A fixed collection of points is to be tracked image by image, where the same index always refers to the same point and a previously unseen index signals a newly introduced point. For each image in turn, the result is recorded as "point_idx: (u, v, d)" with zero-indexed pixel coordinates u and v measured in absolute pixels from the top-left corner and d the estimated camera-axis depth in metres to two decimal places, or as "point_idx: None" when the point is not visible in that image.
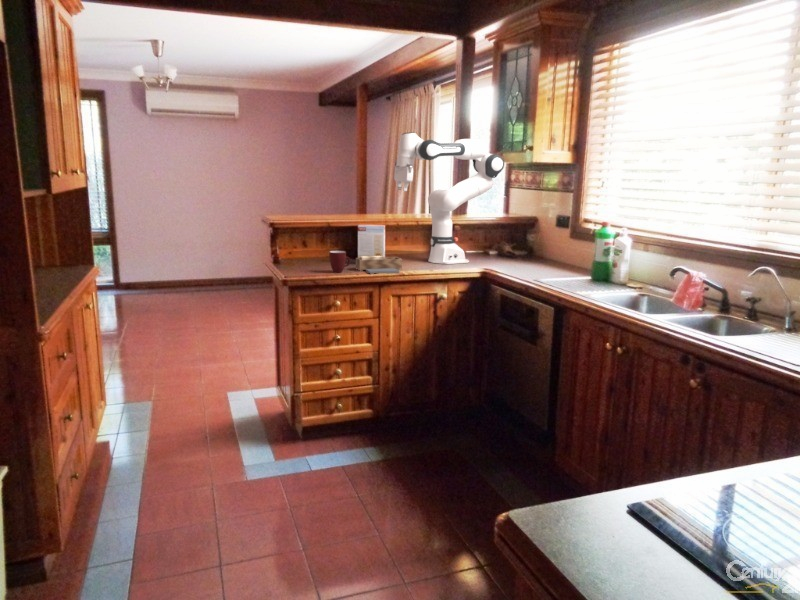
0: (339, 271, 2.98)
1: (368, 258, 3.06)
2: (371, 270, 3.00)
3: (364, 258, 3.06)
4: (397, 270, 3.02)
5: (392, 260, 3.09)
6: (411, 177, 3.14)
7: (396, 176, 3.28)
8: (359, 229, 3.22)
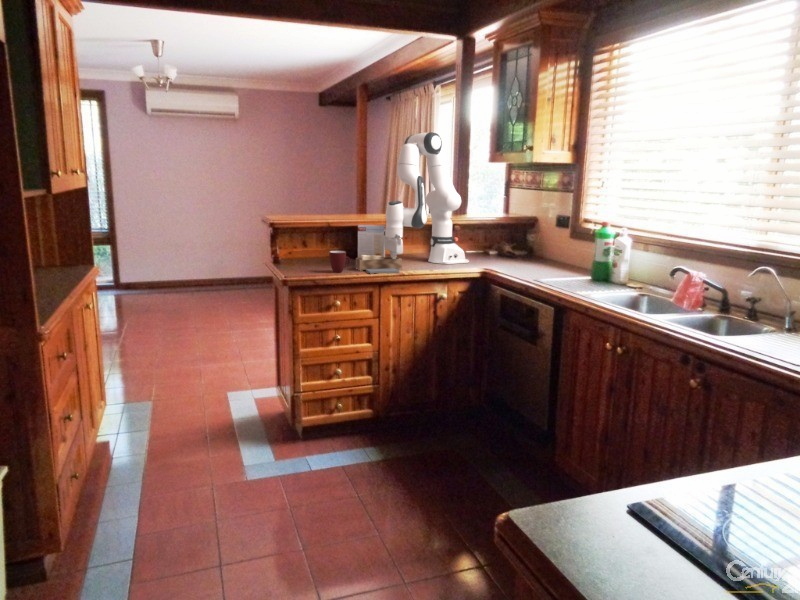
0: (339, 271, 2.98)
1: (368, 257, 3.06)
2: (371, 270, 3.00)
3: (364, 257, 3.06)
4: (397, 270, 3.02)
5: (392, 260, 3.09)
6: (401, 249, 3.03)
7: (386, 245, 3.17)
8: (359, 229, 3.22)
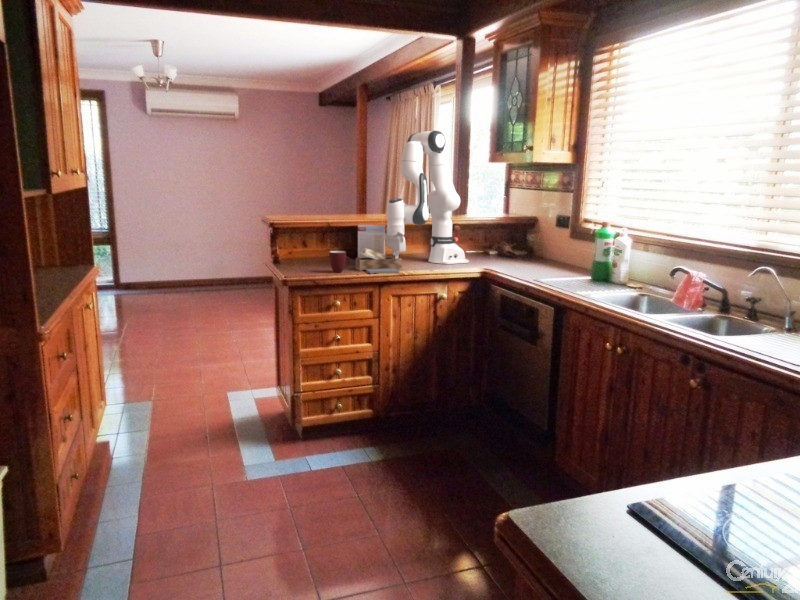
0: (339, 271, 2.98)
1: (372, 251, 3.06)
2: (371, 270, 3.00)
3: (368, 250, 3.06)
4: (397, 270, 3.02)
5: (392, 260, 3.09)
6: (404, 247, 3.03)
7: (388, 243, 3.17)
8: (359, 229, 3.22)
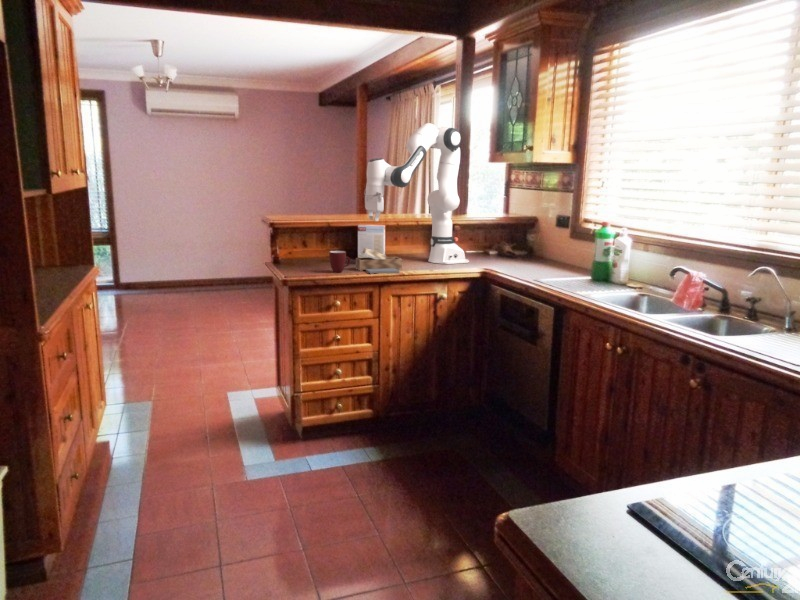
0: (339, 271, 2.98)
1: (372, 251, 3.06)
2: (371, 270, 3.00)
3: (368, 250, 3.06)
4: (397, 270, 3.02)
5: (392, 260, 3.09)
6: (382, 207, 2.95)
7: (367, 205, 3.09)
8: (359, 229, 3.22)
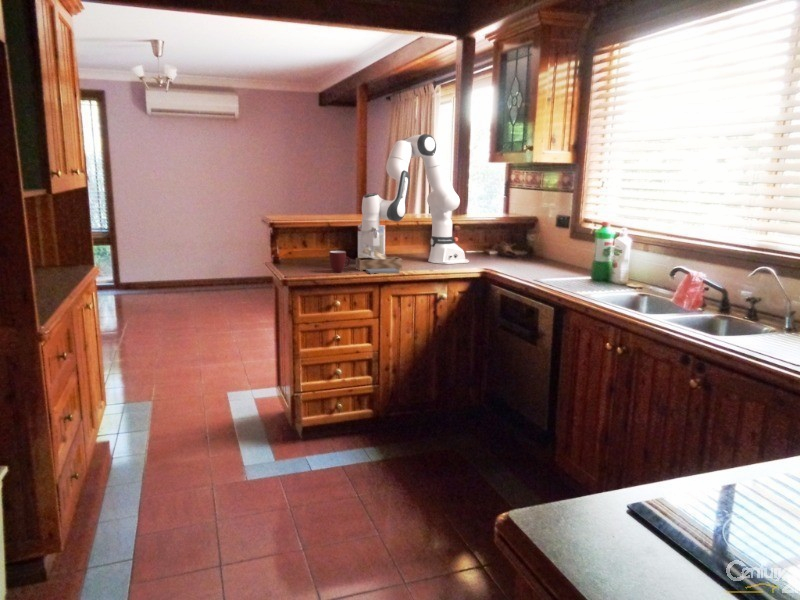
0: (339, 271, 2.98)
1: None
2: (371, 270, 3.00)
3: (368, 250, 3.06)
4: (397, 270, 3.02)
5: (392, 260, 3.09)
6: (377, 242, 2.98)
7: (363, 239, 3.13)
8: (359, 229, 3.22)
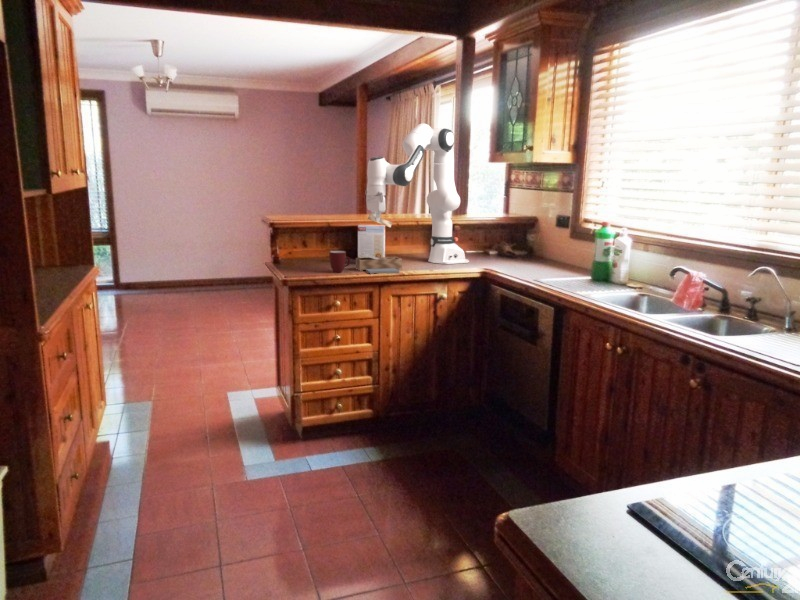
0: (339, 271, 2.98)
1: None
2: (371, 270, 3.00)
3: (373, 216, 2.93)
4: (397, 270, 3.02)
5: (392, 260, 3.09)
6: (383, 207, 2.86)
7: (368, 205, 3.00)
8: (359, 229, 3.22)
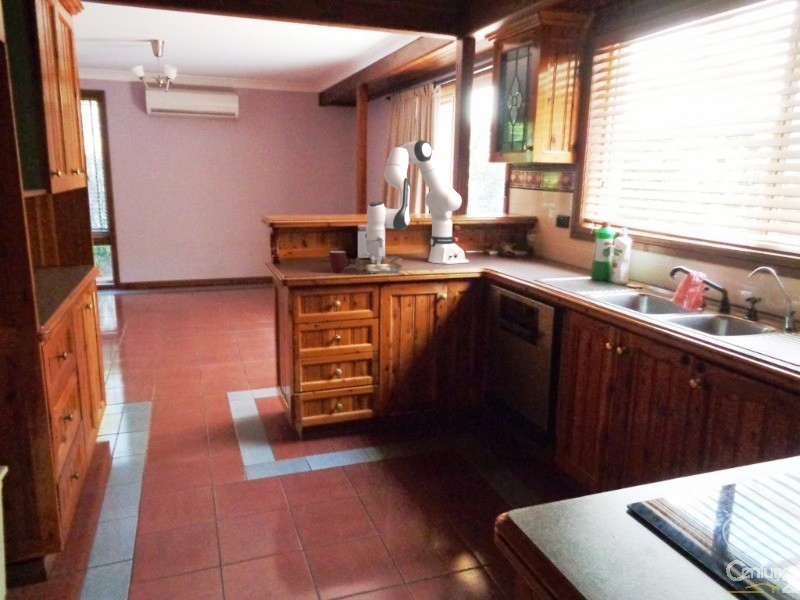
0: (339, 271, 2.98)
1: (374, 266, 2.98)
2: None
3: (370, 267, 2.98)
4: (397, 270, 3.02)
5: (392, 260, 3.09)
6: (383, 252, 2.90)
7: (368, 248, 3.05)
8: (359, 229, 3.22)
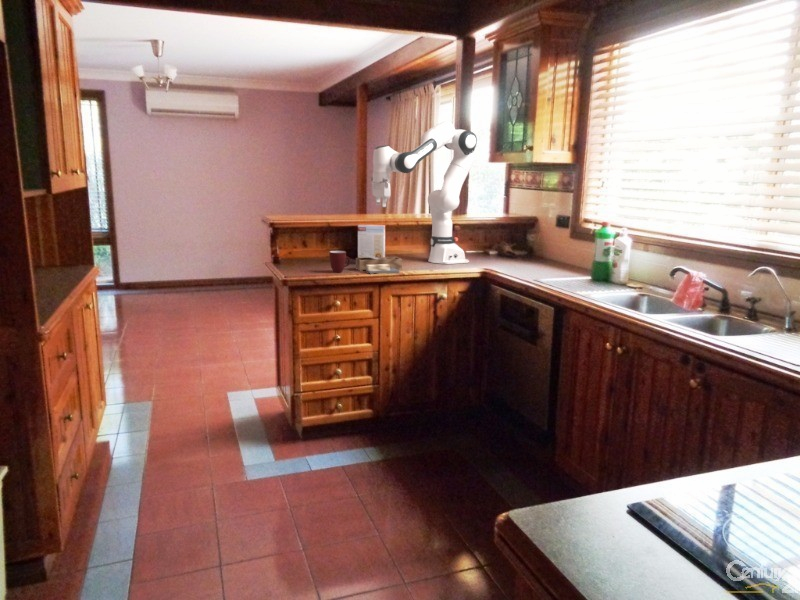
0: (339, 271, 2.98)
1: (374, 266, 2.98)
2: None
3: (370, 267, 2.98)
4: (397, 270, 3.02)
5: (392, 260, 3.09)
6: (389, 192, 3.02)
7: (374, 191, 3.17)
8: (359, 229, 3.22)
